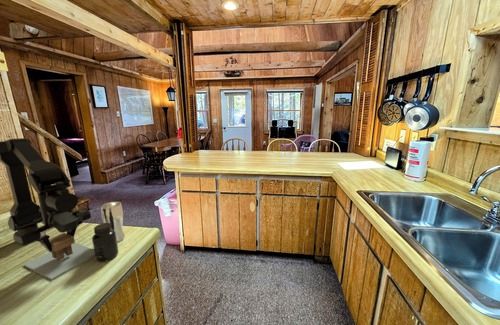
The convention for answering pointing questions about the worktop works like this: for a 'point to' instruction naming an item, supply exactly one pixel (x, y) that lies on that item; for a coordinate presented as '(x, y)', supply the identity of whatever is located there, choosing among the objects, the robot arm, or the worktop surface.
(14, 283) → the worktop surface
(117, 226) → the beer glass
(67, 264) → the rubber mat
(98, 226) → the supplement bottle
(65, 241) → the walnut stool
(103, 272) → the worktop surface
